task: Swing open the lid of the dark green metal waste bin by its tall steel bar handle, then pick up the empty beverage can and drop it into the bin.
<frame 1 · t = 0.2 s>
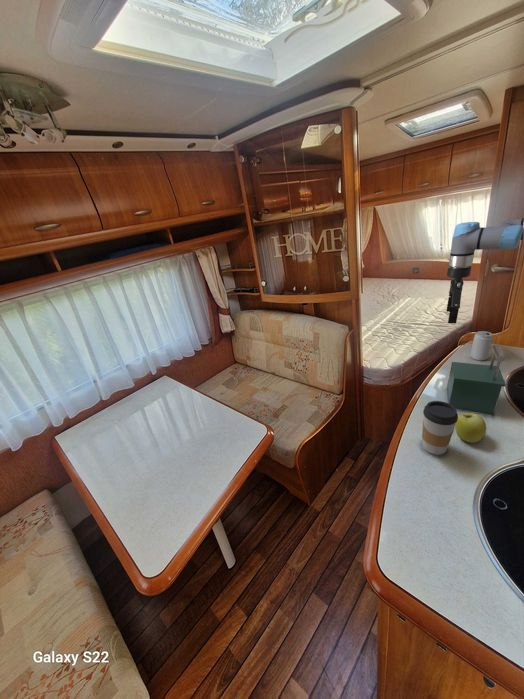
hand: (450, 317, 115), 21 cm above the counter, tool pointing down, fingers open, 13 cm apart
beverage can: (478, 358, 122), on the counter
waste bin: (468, 401, 98), on the counter
coffee cup: (433, 447, 83), on the counter
bin lid: (479, 361, 91), point 17 cm above the counter, hinge at 0.0°
apple: (466, 436, 85), on the counter
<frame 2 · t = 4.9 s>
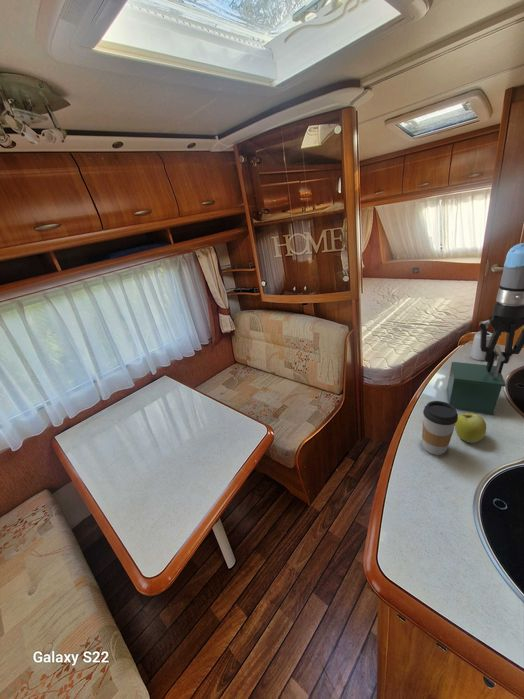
hand: (493, 370, 90), 14 cm above the counter, tool pointing down, fingers closed on bin lid, 2 cm apart
bin lid: (479, 361, 91), point 17 cm above the counter, hinge at 0.0°, touching gripper
everything else where it was.
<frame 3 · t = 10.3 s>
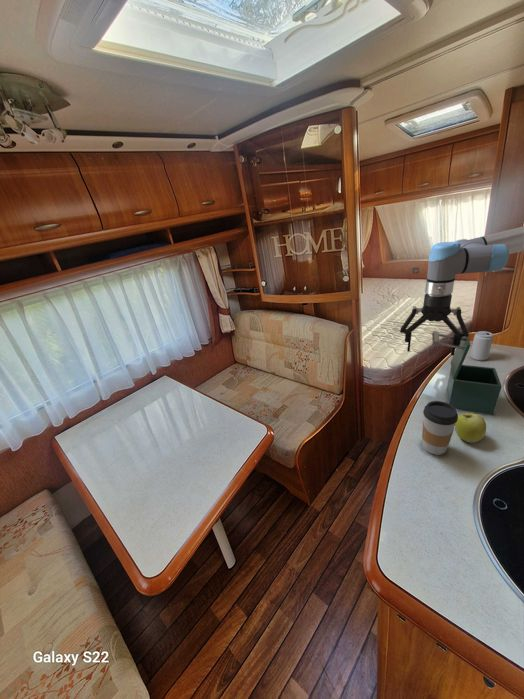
hand: (429, 351, 97), 19 cm above the counter, tool pointing down, fingers open, 13 cm apart
bin lid: (444, 351, 94), point 20 cm above the counter, hinge at 81.1°, touching gripper
everything else where it was.
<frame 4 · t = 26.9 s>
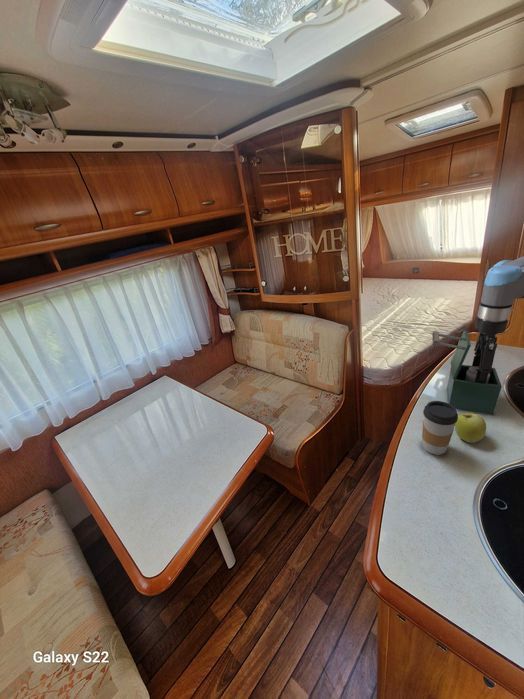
hand: (477, 379, 94), 10 cm above the counter, tool pointing down, fingers open, 8 cm apart
beverage can: (471, 399, 98), point 1 cm above the counter, touching gripper
bin lid: (444, 351, 94), point 20 cm above the counter, hinge at 80.9°
everything else where it was.
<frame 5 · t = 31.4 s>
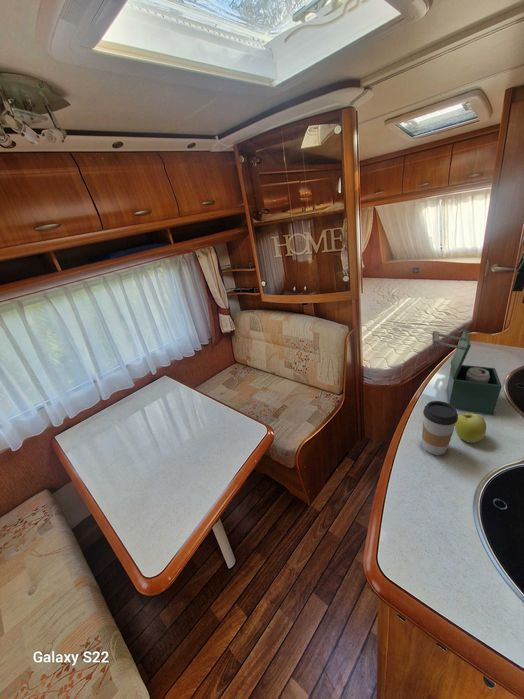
hand: (522, 296, 94), 33 cm above the counter, tool pointing down, fingers open, 13 cm apart
beverage can: (471, 399, 98), point 1 cm above the counter, touching waste bin
everything else where it was.
at the end: bin lid at +81° (first picture: +0°); beverage can inside the target area in the waste bin (1.1 cm from its centre), point 0.6 cm above the waste bin's base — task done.
